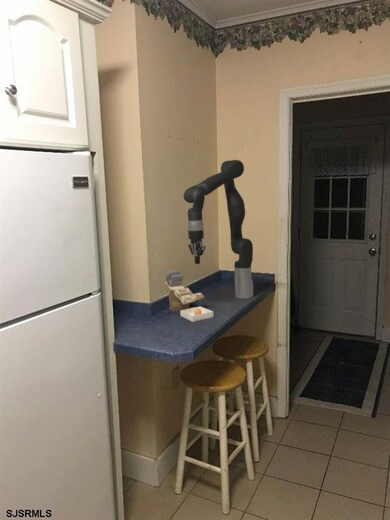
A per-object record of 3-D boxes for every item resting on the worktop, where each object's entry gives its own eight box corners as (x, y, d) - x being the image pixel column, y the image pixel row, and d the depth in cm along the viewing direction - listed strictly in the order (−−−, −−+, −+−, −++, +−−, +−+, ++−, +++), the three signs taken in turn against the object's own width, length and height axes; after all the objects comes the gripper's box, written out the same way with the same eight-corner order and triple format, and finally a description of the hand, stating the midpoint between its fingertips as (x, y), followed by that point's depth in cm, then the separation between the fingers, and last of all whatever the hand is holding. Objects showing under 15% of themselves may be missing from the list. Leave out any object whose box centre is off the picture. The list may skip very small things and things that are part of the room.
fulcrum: (169, 309, 222) (168, 290, 220) (185, 306, 227) (184, 287, 225) (173, 311, 218) (172, 291, 217) (189, 308, 223) (188, 288, 222)
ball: (199, 314, 210) (199, 307, 209) (202, 316, 207) (203, 309, 206) (192, 315, 208) (193, 308, 207) (196, 317, 205) (196, 311, 204)
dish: (200, 311, 216) (200, 306, 216) (213, 317, 206) (213, 311, 206) (180, 316, 210) (180, 310, 210) (192, 321, 201) (192, 316, 200)
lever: (164, 282, 226) (166, 271, 222) (186, 279, 232) (188, 268, 229) (183, 304, 211) (185, 292, 208) (205, 299, 218) (207, 288, 215)
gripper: (209, 229, 208) (211, 264, 212) (195, 227, 220) (196, 261, 223) (196, 230, 205) (198, 266, 208) (182, 229, 216) (184, 263, 219)
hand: (197, 263), depth 215 cm, fingers closed
